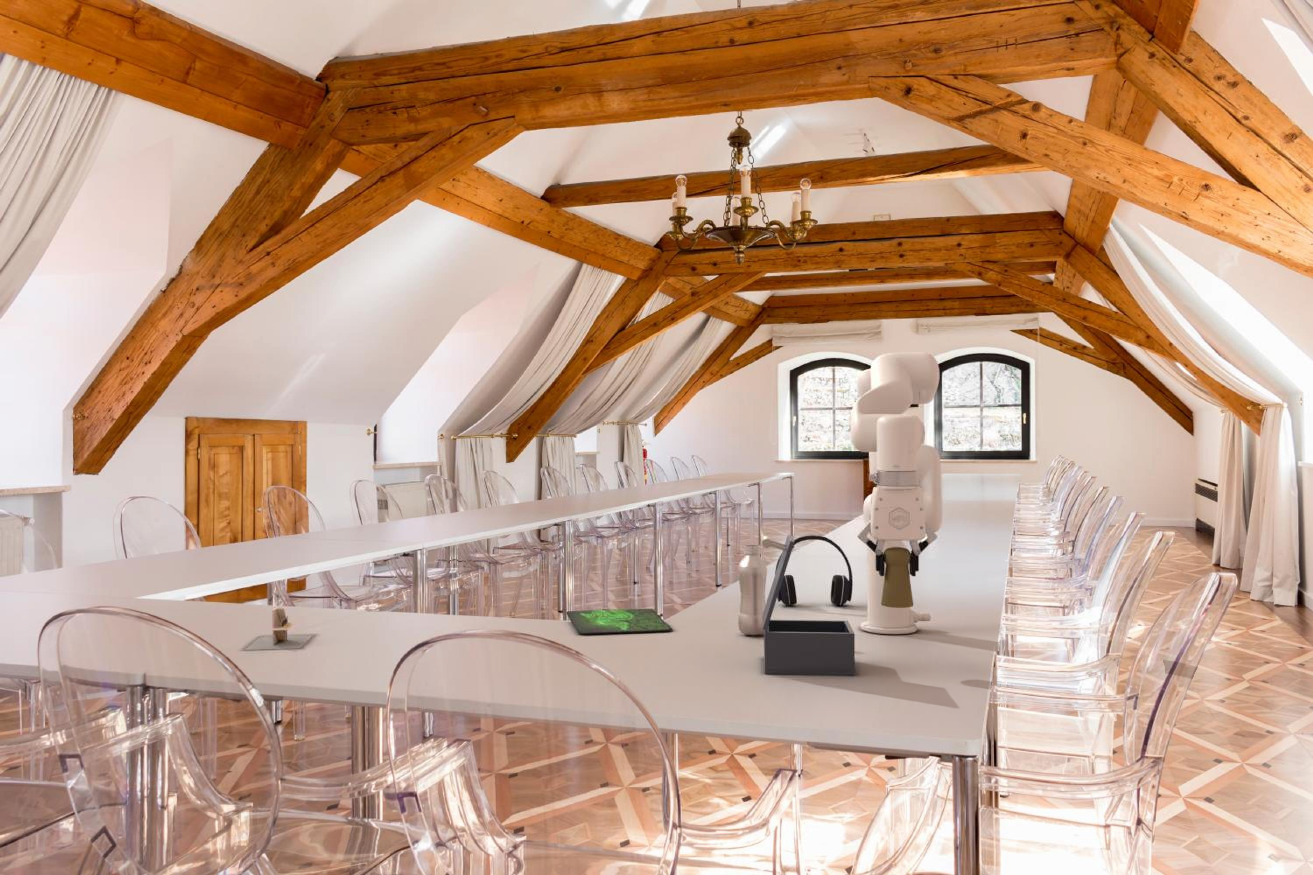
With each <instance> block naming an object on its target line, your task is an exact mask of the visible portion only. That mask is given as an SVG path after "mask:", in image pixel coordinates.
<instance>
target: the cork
mask: <svg viewBox="0 0 1313 875" xmlns="http://www.w3.org/2000/svg"><path fill="white" fill-rule="evenodd" d="M883 555H884V562H885V563H886V570H885V578H884V585H883V593H882V600H881V605H882V606H886V607H893V608H907V607H910V608H913V607H914V599H913V592H912V585H911V575H910V576H909V568H908V564H909V563H910V561H911V550H909V549H908V548H907V549H906V548H902V547H891V548H887V549H886V550H885V551H884V553H883Z"/></svg>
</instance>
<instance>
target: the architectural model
mask: <svg viewBox="0 0 1313 875" xmlns="http://www.w3.org/2000/svg"><path fill="white" fill-rule="evenodd" d="M271 612H272V614H271V615H272V623H271V624H272V625H271V626H272V635H265V636H264V635H261V636H260V637H259V638H258V639H256V640H255V641H254V642H253V643H251V644H250V645H248V646H247V647H246V648H245V649H244V651H260V650H261V651H262V650H292V649H293V650H294V649H301V648H302V647H304V646H305V644H306V643H308V641H310V639H311V638H312V637H314V634H302V635H301V634H299V635H298V634H297V635H288V631H289V630H290V629H291V628H292V627H293V626H294V625H295V622H288V621H289V617H288V615H286V611H285V608H284V607H283V608H282V607H281V608H280V606H279V605H278V606H277V607H275V608H273V609H272V611H271Z"/></svg>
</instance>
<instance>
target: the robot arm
mask: <svg viewBox="0 0 1313 875" xmlns="http://www.w3.org/2000/svg"><path fill="white" fill-rule="evenodd" d="M939 384H940V367H939V363H938V361H937V359H936V358H935V357H934V356H933V354H931V353H928V352H888V353H883V354H880V355H879V356H877V357H876V358H875V359H874V360H873V361H872V363H871V366H870V368H868V369H867V368H866V369H865V370H862V371H861V372H860V373H859V374H858V375H857V379H856V389H857V395H858V398H857V400H856V401H855V403H854V404H853V406H852V409H851V413H850V440H851V444H852V446H853V447H854V448H855V449H856V450H857V451H859V452H861V453H868V464H869V465H868V466H869V468H868V469H869V475H868V481H869V482H873V484H875V485H876V486H874V487H873V488H872V493H871V494H869V495H868V496H866V498H865V499H864V501H863V505H862V512H863V520H864V526H863V527H862V528H861V530H860V531H859V532H858V534H857V539H859V540H860V541H861V542H862V543H863V544H865V545H866V557H867V558H866V560H867V562H866V563H867V565H866V566H867V567H866V568H867V571H866V572H867V574H866V575H867V576H866V578H867V580H866V581H867V582H866V583H867V585H866V586H867V590H866V591H867V594H866V595H867V599H866V600H867V602H866V603H867V605H866V606H867V620H865V621H862V622H860V629H861V630H862V631H864V632H868V633H873V634H880V635H906V634H912V633H915V632H917V630H918V625H917V624H916V623H918V622H930V621H931V620H932V616H931V613H930V612H919V611H918V612H916V611H915V610H914V609H911V607H907V608H893V607H886V606H882V605H881V600H882V593H883V585H884V578H885V570H886V563H885V562H884V555H883V553H884V551H885V550H886V549H887V548H891V547H902V548H906V549H908V547H907V546H906V545H905V543H904V541H905V542H907V541H908V543H909V546H910V549H911V550H910V553H911V561H910V563H909V564H908V568H909V576H910V577H911V576H912V577H916V575H917V574H916V573H917V572H919V571H920V566H919V565H920V556H921V554H922V553H923V551H925V549H927V547H929V546H930V544H932V543H933V542H934V541H936V540H937V538H938V535H937V534H936V533H937V532H939V530H940V529H941V527H942V523H943V495H942V494H943V493H942V492H943V490H942V466H941V458H940V455H939V452H938V450H937V449H936V448H935V447H933V446H932V445H929V444H924V443H925V439H926V438H925V436H926V430H925V424H924V422H922V420H921V419H920V417H919V416H918V415H915V414H909V413H905V412H906V411H908V409H910V407H911V405H925V404H930V403H931V402H932V401H933V400H934V398H936V393H937V390H938V387H939ZM904 413H905V414H904ZM918 541H920V542H918Z"/></svg>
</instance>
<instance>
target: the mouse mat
mask: <svg viewBox="0 0 1313 875" xmlns="http://www.w3.org/2000/svg"><path fill="white" fill-rule="evenodd" d="M566 616H567V617H568V619H569V621H570V623H571V624H572V627H573V628H574V629H575V631H576V633H577V634H579V635H608V634H611V635H612V634H637V633H639V634H641V633H664V632H671V631H672V630H673V628H672V627H671V625H669V624H668V623H666V621H665V620H664V619H663V618H661V616H660V615H659V614H658V613H657V612H656V611H655V609H653V608H628V609H627V608H623V609H595V610H593V609H591V610H569V611H566Z"/></svg>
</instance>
